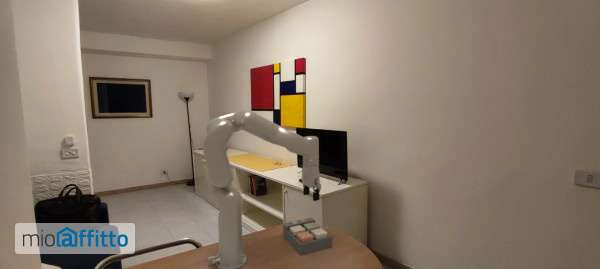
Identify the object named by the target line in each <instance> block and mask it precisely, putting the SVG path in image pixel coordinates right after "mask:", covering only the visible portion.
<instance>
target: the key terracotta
mask: <svg viewBox="0 0 600 269" xmlns="http://www.w3.org/2000/svg"><path fill="white" fill-rule="evenodd" d="M297 239H298V240H299V241H300V242H301V243H305V242H309V241H313V236H312V235H311V234H310V233H309V232H308V231H306V232H302V233H298V234H297Z"/></svg>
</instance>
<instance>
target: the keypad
mask: <svg viewBox="0 0 600 269" xmlns="http://www.w3.org/2000/svg"><path fill="white" fill-rule="evenodd" d="M312 222H314V223H315V224H316V220H315V218H313V217H306V218H302V219H298V220H292V221H288V222H283V223H282V236H283V237H282V238H284V240H285V241H286V242H287V243H288V244H289V245H290V246H291V247H292V248H293V249H294V250H295V251H296V252H297V253H298V254H299V255H300V256H304V255H307V254H311V253H315V252H318V251H322V250H326V249H330V248H332V247H333V246H332V245H333V238H332V237H333V236H331V235H330V234H329V233H328V232H327V237H325V238H321V239H316V238H315V237H313V241H309V242H305V243H301V242H300V241H299V240H298V239H297V236H294V235H293V234H292V233H291V232H290V227H294V226H298V225H301V226H302V227H303V228H304V224H307V223H312ZM319 228H321V227H320V226H319ZM305 232H306V230H305ZM310 234H311V232H310Z"/></svg>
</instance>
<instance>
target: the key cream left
mask: <svg viewBox="0 0 600 269" xmlns="http://www.w3.org/2000/svg"><path fill="white" fill-rule="evenodd" d="M290 232H291V233H292V234H293V235H294V236H297V234H298V233H302V232H305V229H304V228H303V227H302V226H301V225H298V226H294V227H290Z"/></svg>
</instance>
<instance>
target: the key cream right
mask: <svg viewBox="0 0 600 269" xmlns="http://www.w3.org/2000/svg"><path fill="white" fill-rule="evenodd" d="M327 233H328V232H327V231H326V230H325V229H323V228H322V227H320V228H319V229H315V230H311V235H312V236H313V237H315V238H316V239H321V238H325V237H327Z"/></svg>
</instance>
